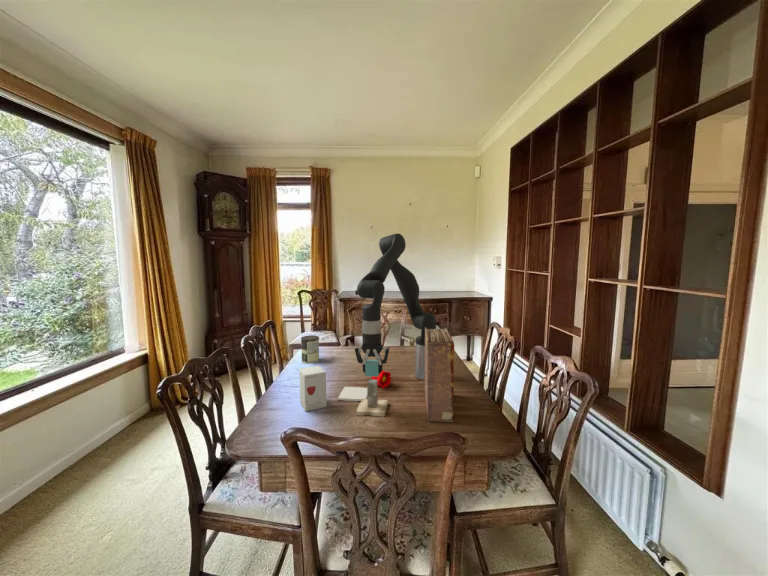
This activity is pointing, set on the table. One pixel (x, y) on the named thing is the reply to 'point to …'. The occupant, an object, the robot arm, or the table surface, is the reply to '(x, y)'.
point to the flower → (383, 379)
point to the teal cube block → (372, 368)
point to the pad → (353, 394)
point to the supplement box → (312, 388)
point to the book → (439, 375)
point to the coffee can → (310, 349)
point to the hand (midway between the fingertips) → (372, 372)
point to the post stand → (372, 402)
